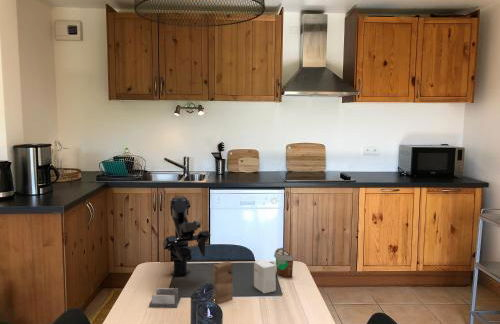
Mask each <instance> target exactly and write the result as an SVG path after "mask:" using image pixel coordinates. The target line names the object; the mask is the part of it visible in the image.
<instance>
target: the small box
mask: <svg viewBox="0 0 500 324" xmlns="http://www.w3.org/2000/svg"><path fill="white" fill-rule="evenodd" d="M276 275H277V271H276V264H274V263H272V262H270V261H268V260H267V259H262V260H257V261H254V262H253V286H254V288H255V289H257V290H259V291H260V292H261V293H262V294H268V293H273V292H275V291H276V290H277V289H276V288H277V287H276V286H277V285H276V283H277V282H276V281H277V280H276V279H277V277H276Z"/></svg>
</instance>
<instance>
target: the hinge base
mask: <svg viewBox="0 0 500 324" xmlns="http://www.w3.org/2000/svg"><path fill="white" fill-rule="evenodd" d="M155 291H156V292H155V294H152V295H151V301H150V302H149V304H148V308H168V309H169V308H170V309H172V308H174V309H175V308H176V309H177V308H178V306H179V303H180V301H181V298H182V295H179V288H177V287H175V288H174V287H157V288H156V289H155Z"/></svg>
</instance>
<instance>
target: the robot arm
mask: <svg viewBox="0 0 500 324" xmlns="http://www.w3.org/2000/svg"><path fill="white" fill-rule="evenodd" d="M169 203H170V216H171V218H172V219H171V220H172V221H173V225H174V227H175V230H174V231H175V235H170V236H166V237H165V238H164V241H163V243H162V247H163V249H164V250H167V251H169V252H170V256H169V257H170V262H173V271H172V272H171V273H170V276H180V277H186V275H187V274H189V273H190V272H191V270H190V269H188V261H191V260H192V255H193V254H192V251H193V250H192V249H191V247H190V246H189V242H192V241H193V242H194V241H196V243H197V246H198V248H199V251H200V254H201V256H202V257H203V258H204V257H205V256H206V242H208V240H209V238H210V237H211V232H210V231H209V230H207V229H206V230H201V231H199V233H198V234H195V233H196V232H195V231H198V229H200V228H201V226H202V225H201V221H200V220H199V219H196V220H193V222H190V221H189V220H188V216H189V210H190V208H191V202H190V200H189V199H188V198H187V197H185V196H183V195H176V196H174V197H172V198H171V200H170V202H169ZM194 234H195V235H194Z"/></svg>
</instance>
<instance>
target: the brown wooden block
mask: <svg viewBox="0 0 500 324" xmlns="http://www.w3.org/2000/svg"><path fill="white" fill-rule="evenodd" d="M233 264H234V263H233V262H231V261H224V262H223V261H222V262H219V263H214V264H213V265H212V267H213V271H212V272H213V273H212V274H213V275H212V276H213V277H212V278H213V279H212V281H213V284H212V285H214V287H215V292H214V293H213V300H214V299H215V302H216V303H215V302H214V303H215V304H217V305H219V304H223V303H225V302H228V301H231V300H233V295H234V294H233V288H234V287H233V285H234V284H233V273H234V272H233V269H234V268H233V267H234V266H233Z"/></svg>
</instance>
